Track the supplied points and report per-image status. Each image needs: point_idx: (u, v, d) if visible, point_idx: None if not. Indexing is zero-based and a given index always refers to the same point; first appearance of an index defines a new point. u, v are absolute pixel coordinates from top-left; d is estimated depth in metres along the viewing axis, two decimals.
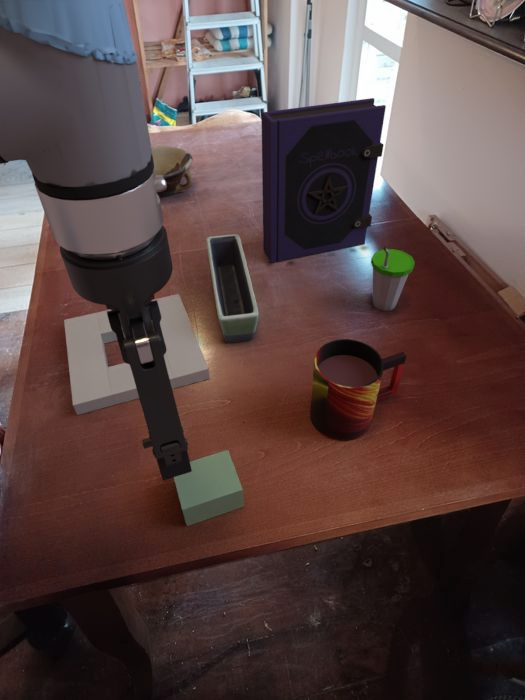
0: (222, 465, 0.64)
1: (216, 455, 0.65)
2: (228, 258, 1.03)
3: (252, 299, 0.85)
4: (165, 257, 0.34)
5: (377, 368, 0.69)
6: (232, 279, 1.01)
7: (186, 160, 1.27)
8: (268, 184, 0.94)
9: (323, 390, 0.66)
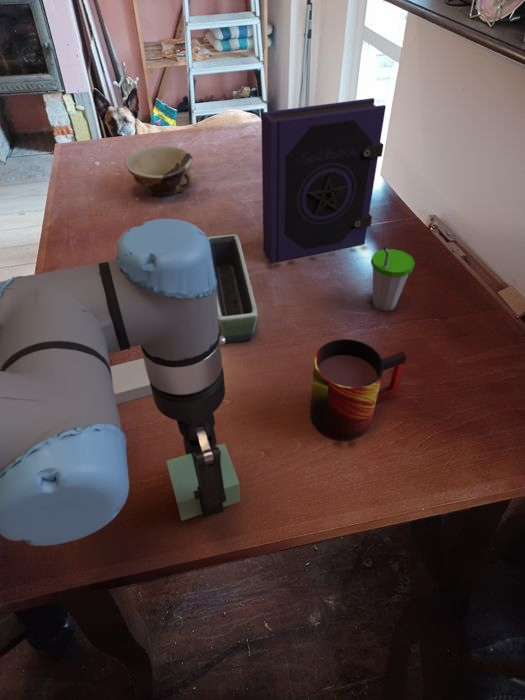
0: None
1: None
2: (226, 259, 1.03)
3: (251, 299, 0.85)
4: (222, 387, 0.49)
5: (377, 368, 0.69)
6: (231, 279, 1.01)
7: (186, 160, 1.27)
8: (268, 184, 0.94)
9: (323, 390, 0.66)
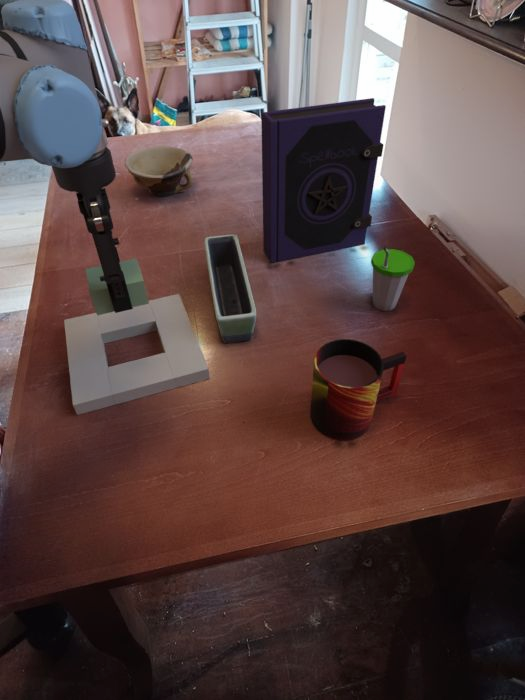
0: (129, 267, 0.75)
1: (125, 261, 0.76)
2: (225, 259, 1.03)
3: (250, 299, 0.85)
4: (109, 165, 0.60)
5: (377, 368, 0.69)
6: (230, 279, 1.01)
7: (186, 160, 1.27)
8: (268, 184, 0.94)
9: (323, 390, 0.66)
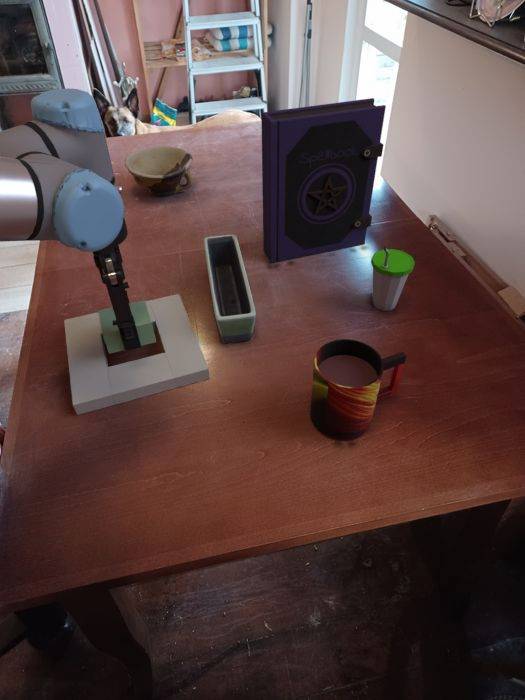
0: (138, 308, 0.81)
1: (135, 303, 0.83)
2: (225, 259, 1.03)
3: (249, 299, 0.85)
4: (122, 226, 0.67)
5: (377, 368, 0.69)
6: (230, 279, 1.01)
7: (186, 160, 1.27)
8: (268, 184, 0.94)
9: (323, 390, 0.66)
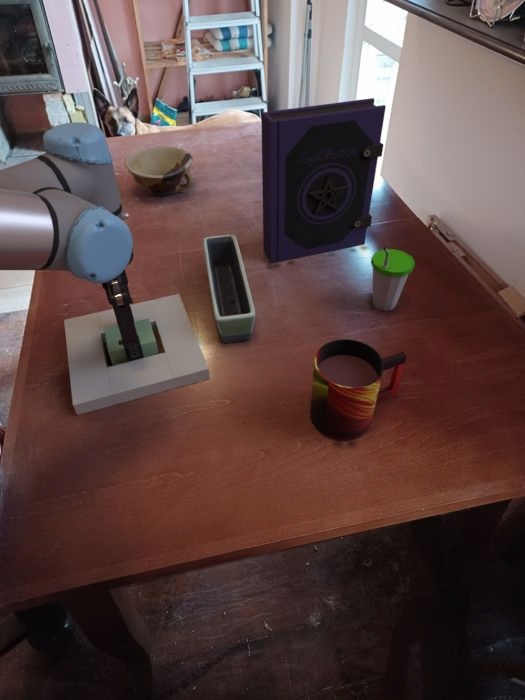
0: (143, 327, 0.84)
1: (139, 321, 0.85)
2: (224, 259, 1.03)
3: (249, 299, 0.85)
4: None
5: (377, 368, 0.69)
6: (229, 280, 1.01)
7: (186, 160, 1.27)
8: (268, 184, 0.94)
9: (323, 390, 0.66)
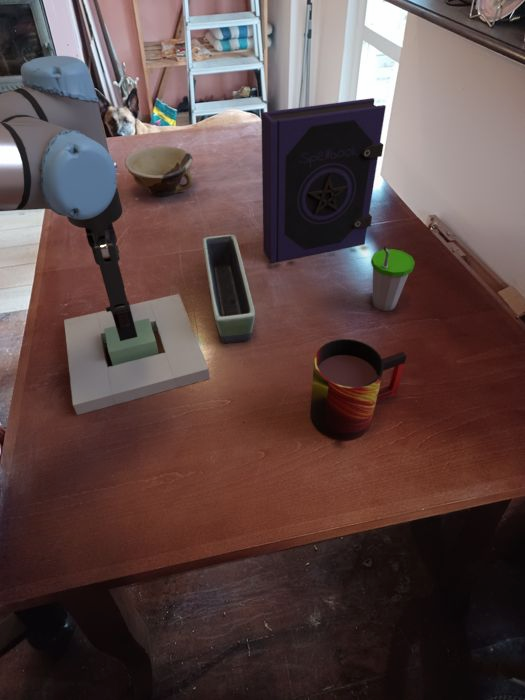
0: (143, 327, 0.84)
1: (139, 321, 0.85)
2: (224, 259, 1.03)
3: (248, 299, 0.85)
4: (116, 203, 0.65)
5: (377, 368, 0.69)
6: (229, 280, 1.01)
7: (186, 160, 1.27)
8: (268, 184, 0.94)
9: (323, 390, 0.66)
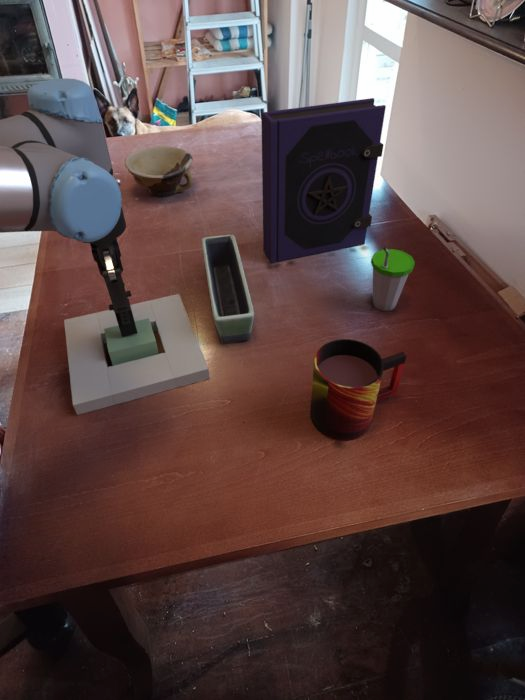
0: (143, 327, 0.84)
1: (139, 321, 0.85)
2: (223, 259, 1.03)
3: (247, 299, 0.85)
4: (120, 219, 0.67)
5: (377, 368, 0.69)
6: (228, 280, 1.01)
7: (186, 160, 1.27)
8: (268, 184, 0.94)
9: (323, 390, 0.66)
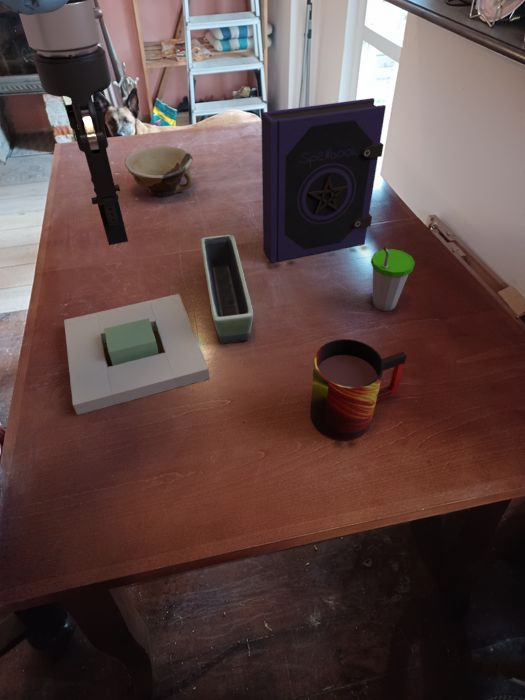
0: (143, 327, 0.84)
1: (139, 321, 0.85)
2: (222, 259, 1.03)
3: (247, 300, 0.85)
4: (103, 65, 0.52)
5: (377, 368, 0.69)
6: (227, 280, 1.01)
7: (186, 160, 1.27)
8: (268, 184, 0.94)
9: (323, 390, 0.66)
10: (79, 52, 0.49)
